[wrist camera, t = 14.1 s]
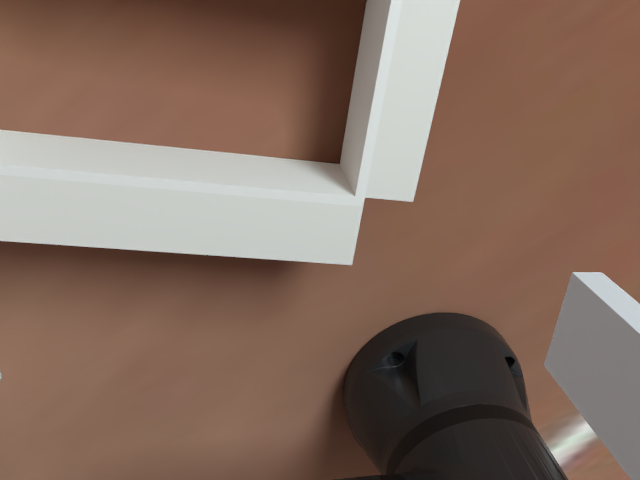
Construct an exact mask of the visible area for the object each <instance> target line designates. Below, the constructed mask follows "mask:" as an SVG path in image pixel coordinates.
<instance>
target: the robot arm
mask: <svg viewBox="0 0 640 480" xmlns="http://www.w3.org/2000/svg"><path fill="white" fill-rule="evenodd" d="M544 366H545V368H546V369H547V370H548V372H549V373H550V374H551V376H552V377H553V378H554V379H555V381H556V382H557V383H558V385H559V386H560V387H561V389H562V390H563V391H564V393H565V394H566V395H567V397H568V398H569V399H570V400H571V402H572V403H573V404H574V406H575V407H576V408H577V410H578V411H579V412H580V414H581V415H582V416H583V417H584V419H585V420H586V421H587V423H588V424H589V425H590V427H591V428H592V429H593V431H594V432H595V433H596V435H597V436H598V437H599V438H600V440H601V441H602V442H603V444H604V445H605V446H606V448H607V449H608V450H609V452H610V453H611V454H612V455H613V457H614V458H615V459H616V461H617V462H618V463H619V465H620V466H621V467H622V469H623V470H624V471H625V473H626V474H627V475H628V476H629V478H630V479H631V480H640V304H639V303H638V302H637V301H635V300H634V299H633V298H632V297H631V296H629V295H628V294H627V293H626V292H625V291H623V290H622V289H621V288H620V287H619V286H617V285H616V284H615V283H614V282H613V281H611V280H610V279H609V278H608V277H607V276H605V275H604V274H603V273H602V272H572V275H571V278H570V281H569V284H568V288H567V291H566V294H565V298H564V301H563V304H562V307H561V311H560V314H559V317H558V321H557V324H556V327H555V330H554V334H553V337H552V340H551V343H550V347H549V350H548V353H547V357H546V360H545V363H544ZM1 378H2V377H1V373H0V379H1ZM343 399H344V405H345V410H346V414H347V418H348V423H349V426H350V428H351V431H352V433H353V435H354V437H355V438H356V440H357V441H358V443H359V444H360V446H361V447H362V448H363V449H364V451H365V452H366V454H367V455H368V457H369V458H370V459H371V461H372V462H373V464H374V465H375V466H376V468H377V469H378V470H379V472H380V473H381V475H375V476H365V477H355V478H345V479H335V480H568V478H567V477H566V475H565V474H564V472H563V470H562V469H561V467H560V466H559V464H558V463H557V461H556V460H555V458H554V456H553V455H552V453H551V452H550V450H549V449H548V447H547V445H546V444H545V442H544V441H543V439H542V438H541V436H540V435H539V433H538V432H537V430H536V428H535V427H534V425H533V423H532V420H531V415H530V409H529V404H528V399H527V394H526V389H525V383H524V378H523V374H522V370H521V367H520V364H519V362H518V360H517V358H516V356H515V354H514V353H513V351H512V350H511V348H510V347H509V345H508V344H507V342H506V341H505V340H504V338H503V337H502V336H501V335H500V333H499V332H498V331H497V330H495V329H494V328H493V327H492V326H490V325H489V324H487V323H485V322H484V321H482V320H479V319H477V318H474V317H471V316H468V315H464V314H458V313H432V314H425V315H420V316H416V317H413V318H410V319H407V320H404V321H402V322H399V323H397V324H395V325H393V326H391V327H389V328H388V329H386V330H384V331H383V332H381V333H380V334H378V335H377V336H376V337H374V338H373V339H372V340H371V341H370V342H369V343H368V344H367V345H366V346H365V347H364V348H363V349H362V350H361V351H360V352H359V353H358V355H357V356H356V358H355V359H354V361H353V362H352V364H351V366H350V368H349V370H348V372H347V375H346V378H345V382H344V388H343Z"/></svg>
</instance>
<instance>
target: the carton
mask: <svg viewBox="0 0 640 480" xmlns="http://www.w3.org/2000/svg"><path fill="white" fill-rule="evenodd" d="M459 3H460V0H367V2H366V8H365V14H364V20H363V26H362V32H361V38H360V44H359V50H358V56H357V62H356V68H355V74H354V80H353V86H352V92H351V98H350V104H349V110H348V117H347V123H346V129H345V135H344V141H343V147H342V153H341V159H340V164H334V163H324V162H315V161H305V160H295V159H285V158H275V157H265V156H255V155H245V154H235V153H225V152H216V151H206V150H196V149H186V148H176V147H166V146H156V145H146V144H136V143H126V142H116V141H107V140H97V139H87V138H77V137H67V136H57V135H47V134H37V133H27V132H17V131H8V130H0V241H10V242H24V243H39V244H53V245H68V246H83V247H97V248H112V249H126V250H141V251H155V252H170V253H184V254H199V255H213V256H228V257H242V258H257V259H271V260H286V261H301V262H315V263H330V264H344V265H352V262H353V257H354V252H355V247H356V241H357V236H358V231H359V226H360V221H361V215H362V210H363V205H364V200H365V197H366V198H377V199H388V200H399V201H410V202H413V200H414V196H415V191H416V187H417V183H418V179H419V174H420V170H421V166H422V161H423V157H424V153H425V149H426V144H427V140H428V136H429V131H430V127H431V123H432V119H433V114H434V110H435V106H436V101H437V97H438V93H439V88H440V84H441V80H442V76H443V71H444V67H445V63H446V58H447V54H448V50H449V46H450V41H451V37H452V33H453V28H454V24H455V20H456V16H457V11H458V7H459Z"/></svg>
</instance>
